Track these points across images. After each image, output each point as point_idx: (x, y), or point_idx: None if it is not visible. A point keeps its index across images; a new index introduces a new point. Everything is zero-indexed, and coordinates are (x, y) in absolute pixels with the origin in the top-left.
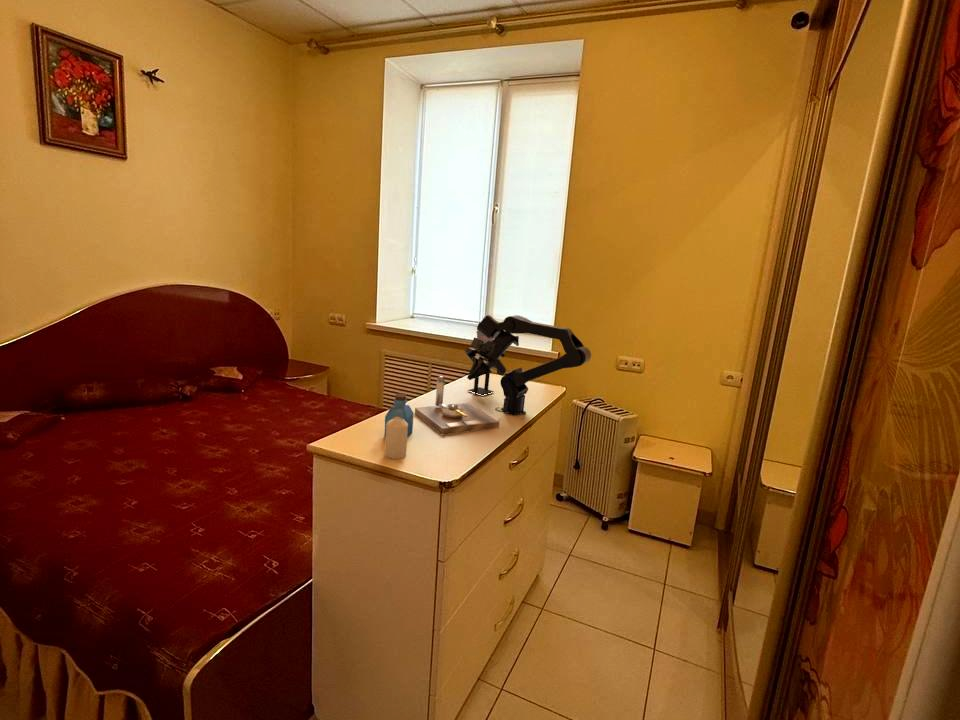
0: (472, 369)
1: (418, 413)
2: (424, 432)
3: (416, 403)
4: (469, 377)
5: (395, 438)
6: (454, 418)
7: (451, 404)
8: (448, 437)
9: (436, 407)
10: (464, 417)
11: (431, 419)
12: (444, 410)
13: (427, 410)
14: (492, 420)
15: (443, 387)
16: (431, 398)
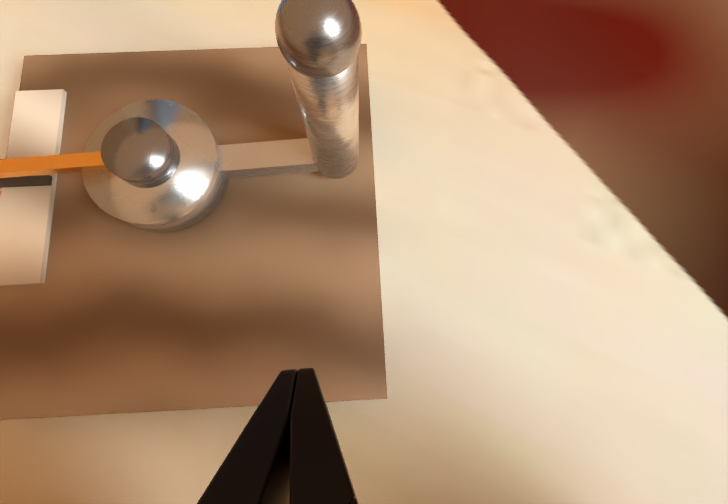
0: (296, 501)
1: None
2: (113, 22)
3: (527, 131)
4: (273, 386)
5: None
6: None
7: (156, 144)
8: (13, 93)
9: None
10: (128, 236)
11: (164, 55)
12: (145, 100)
13: None
14: (11, 386)
15: (299, 99)
16: (612, 248)
